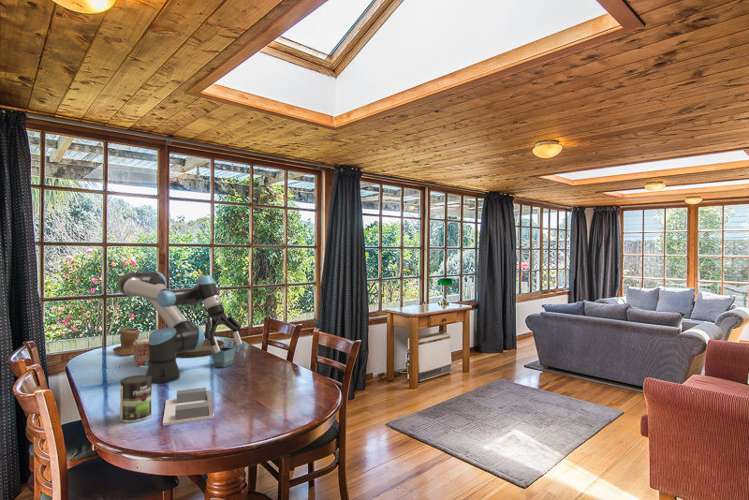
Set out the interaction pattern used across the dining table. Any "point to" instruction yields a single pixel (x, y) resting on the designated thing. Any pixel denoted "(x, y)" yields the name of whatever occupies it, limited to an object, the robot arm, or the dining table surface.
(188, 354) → the plant saucer
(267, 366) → the dining table surface
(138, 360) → the tan printed box
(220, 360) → the flower pot
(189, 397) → the block
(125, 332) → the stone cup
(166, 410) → the mounting board
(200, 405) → the block
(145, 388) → the coffee can
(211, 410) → the metal rail
